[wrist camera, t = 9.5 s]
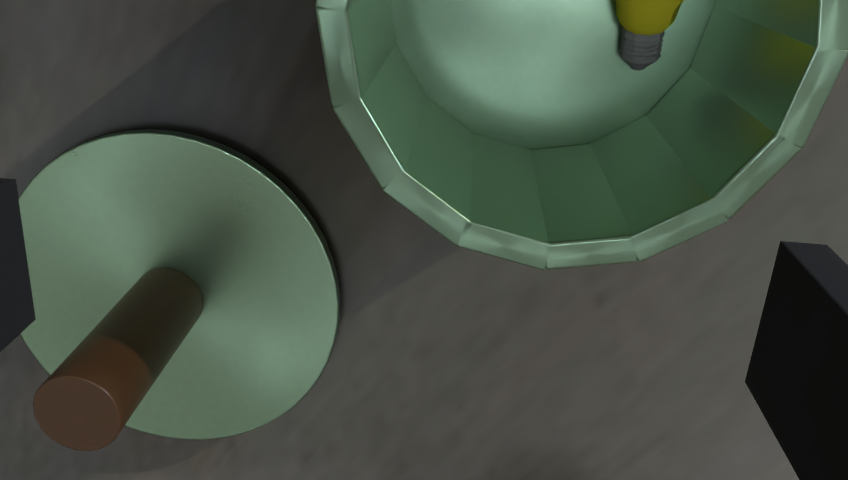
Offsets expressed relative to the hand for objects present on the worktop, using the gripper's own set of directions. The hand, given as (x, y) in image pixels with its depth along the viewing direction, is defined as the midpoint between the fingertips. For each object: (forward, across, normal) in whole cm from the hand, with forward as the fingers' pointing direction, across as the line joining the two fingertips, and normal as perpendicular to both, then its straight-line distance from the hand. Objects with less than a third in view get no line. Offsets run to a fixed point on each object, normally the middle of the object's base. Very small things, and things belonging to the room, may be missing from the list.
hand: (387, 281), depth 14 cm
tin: (+17, +4, +4) cm, 18 cm away
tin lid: (+16, -10, -9) cm, 21 cm away
